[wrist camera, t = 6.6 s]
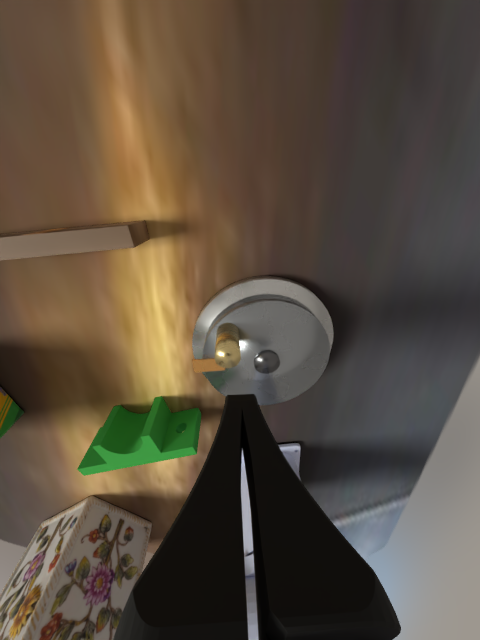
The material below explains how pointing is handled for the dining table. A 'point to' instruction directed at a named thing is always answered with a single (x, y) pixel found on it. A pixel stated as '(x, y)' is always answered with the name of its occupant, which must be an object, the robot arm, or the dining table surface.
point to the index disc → (264, 349)
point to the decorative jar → (75, 575)
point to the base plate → (252, 288)
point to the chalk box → (8, 412)
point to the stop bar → (72, 240)
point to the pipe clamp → (142, 438)
